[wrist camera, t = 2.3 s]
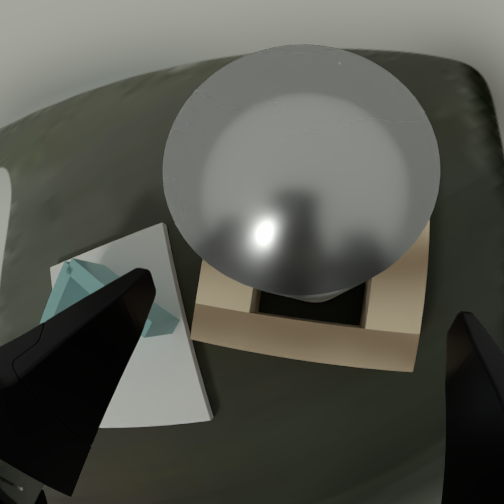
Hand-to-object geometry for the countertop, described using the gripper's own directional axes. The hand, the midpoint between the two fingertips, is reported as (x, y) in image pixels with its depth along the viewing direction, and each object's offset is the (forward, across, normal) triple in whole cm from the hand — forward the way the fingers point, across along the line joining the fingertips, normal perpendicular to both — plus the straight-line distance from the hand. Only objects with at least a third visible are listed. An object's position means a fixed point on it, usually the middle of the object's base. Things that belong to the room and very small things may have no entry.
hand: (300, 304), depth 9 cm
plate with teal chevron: (+4, +12, +10) cm, 17 cm away
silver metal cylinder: (+9, 0, +6) cm, 10 cm away
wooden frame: (+9, 0, +6) cm, 10 cm away
